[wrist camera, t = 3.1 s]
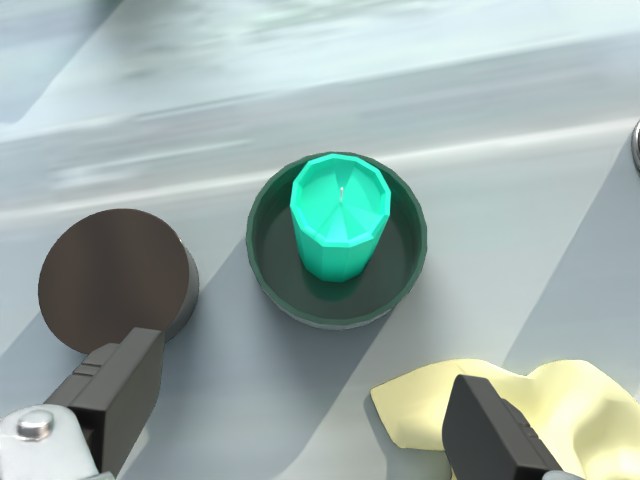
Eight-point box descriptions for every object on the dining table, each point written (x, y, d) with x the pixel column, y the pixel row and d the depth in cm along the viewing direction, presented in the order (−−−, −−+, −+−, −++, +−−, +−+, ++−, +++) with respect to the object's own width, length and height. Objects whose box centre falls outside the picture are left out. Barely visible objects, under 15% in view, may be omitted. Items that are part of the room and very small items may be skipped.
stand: (150, 200, 38) (131, 180, 35) (230, 294, 36) (219, 284, 32) (41, 283, 36) (8, 273, 33) (119, 388, 34) (93, 390, 30)
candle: (282, 241, 37) (266, 181, 26) (339, 197, 38) (348, 120, 27) (330, 298, 36) (334, 262, 24) (387, 251, 37) (418, 195, 25)
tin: (339, 143, 40) (341, 120, 36) (450, 253, 37) (464, 240, 34) (220, 241, 37) (209, 227, 34) (329, 366, 35) (330, 365, 31)
